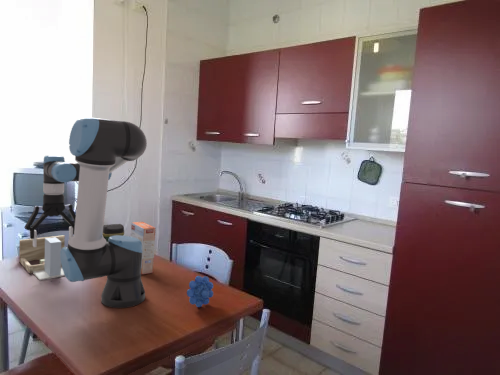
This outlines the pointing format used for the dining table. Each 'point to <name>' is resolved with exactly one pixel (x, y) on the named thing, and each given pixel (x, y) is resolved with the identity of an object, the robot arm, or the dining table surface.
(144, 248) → the cracker box
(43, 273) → the mat
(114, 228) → the coffee jar
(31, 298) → the dining table surface
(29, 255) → the rack
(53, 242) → the white rectangular box
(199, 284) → the blue knobbly flower shape
